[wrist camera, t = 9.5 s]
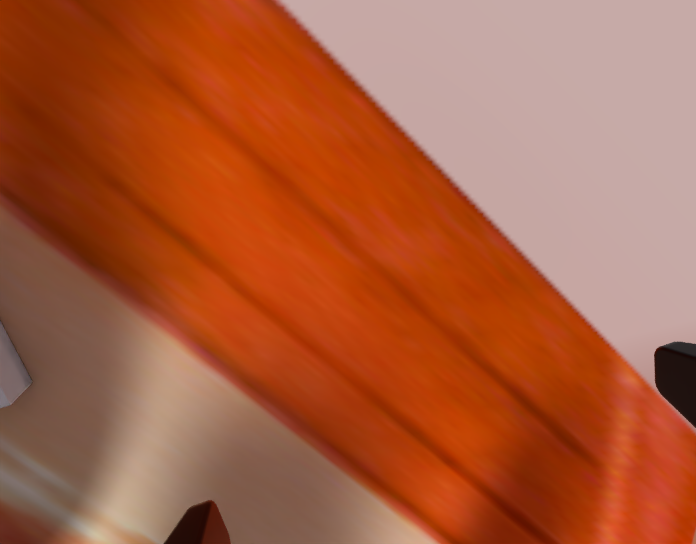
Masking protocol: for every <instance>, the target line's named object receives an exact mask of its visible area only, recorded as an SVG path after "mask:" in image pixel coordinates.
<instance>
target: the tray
mask: <svg viewBox="0 0 696 544" xmlns="http://www.w3.org/2000/svg"><path fill="white" fill-rule="evenodd" d="M31 383H32V380H31V378H30V376H29V374H28V372H27V370H26V368H25V367H24V365H23V363H22V361H21V359H20V357H19V355H18V353H17V351H16V350H15V348H14V346H13V344H12V342H11V340H10V338H9V336H8V335H7V333H6V331H5V329H4V327H3V325H2V323H1V321H0V408H3V407H6V406H10V405H11V404H12V403H13V402H14V401H15V400H16V399H17V398H18V397H19V396H20V395H21V394H22V393H23V392H24V391H25V390H26V389H27V388H28V387H29V386H30V385H31Z"/></svg>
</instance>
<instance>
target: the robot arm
mask: <svg viewBox="0 0 696 544" xmlns="http://www.w3.org/2000/svg"><path fill="white" fill-rule="evenodd" d="M654 358H655V359H654V360H655V383H656V387H657V389H658V391H659V392H660V393H661V395H662V396H663V397H664V398H665V399H666V400H667V401H668V402H669V403H670V404H672V405H673V406H674V407H675V408H676V409H677V410H678V411H679V412H680V413H681V414H682V415H683V416H684V417H685V418H686V419H687V420H688V421H689V422H690V423H691V424H692V425H693V426H694V427H695V428H696V344H692V343H685V342H672V343H669V344H666V345H664V346H660V347H659V348H657V349H656V351H655V354H654ZM164 544H231V542H230V537H229V534H228V531H227V529H226V526H225V524H224V522H223V519H222V517H221V515H220V512H219V510H218V508H217V505H216V504H215V503H214V501H211V500H208V501H205V502H202V503H199V504H197V505H194V506H192V507H190V508H189V509H188V510H187V511H186V513H185V514H184V516H183V517H182V518H181V520H180V521H179V523H178V524H177V526H176V527H175V528H174V530H173V531H172V533H171V534H170V535H169V537H168V538H167V540H166V541H165V543H164Z"/></svg>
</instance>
